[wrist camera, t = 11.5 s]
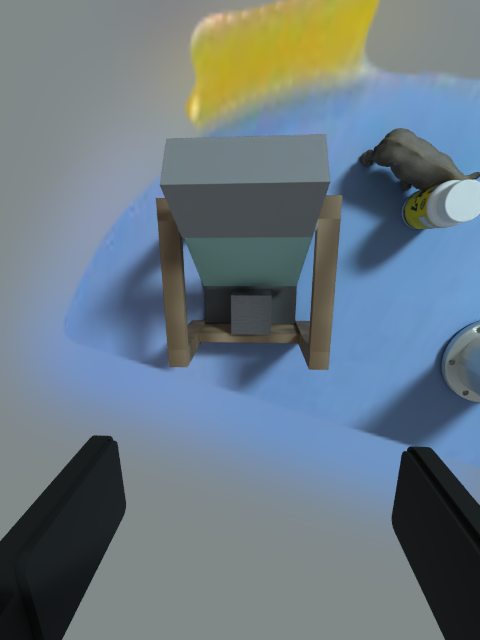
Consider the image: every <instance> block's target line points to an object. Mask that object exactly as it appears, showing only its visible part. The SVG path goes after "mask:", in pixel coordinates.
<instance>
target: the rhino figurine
mask: <svg viewBox="0 0 480 640" xmlns="http://www.w3.org/2000/svg"><path fill="white" fill-rule="evenodd" d="M372 161H375V162H376V163H377V164H378V165H380V166H385V167H389V166H390V167H391V170H392V172H393V174H394V175H395V176H396V177H397V178H398V179H400V180H402V182H401V188H402V189H407V190H408V189H410V188H411V185H412V186H413V187H415V188H416V189H420V190H427V189H429V188H431V187H433V186H435V185H438V184H441V183H444V182H447V181H451V180H460V181H463V180H473V179H477V178H479V177H480V173H479V172H475V173H473V174H471V175H466V176H465V175H464V174H463V173H461V172H460V171H459V170H458V168H457V167H456V165H455V164H454V163H453V161H452V159H451V158H450V157H449V156H448V155H446V154H444V153H442V152H439V151H438V150H437V149H436V148H435V147H434V146H433V145H432V144H430V143H429V142H427V141H426V140H424V139H422V138H419V137H417V136H416V135H415V134H414V133H413V132H412V131H410V130H408V129H401V128H399V129H394V130H392V131H391V132H390V133H388V134H387V135H386V136H385V138H384V139H383V140H382V141H381V142H380V143H379V145H377V146H376V147H375V148H374V151H373V150H368V151H367V152H365V153H363V154H362V156H361V162H362V164H363V165H367V166H370V165H371V164H372Z"/></svg>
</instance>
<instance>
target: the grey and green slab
mask: <svg viewBox="0 0 480 640" xmlns="http://www.w3.org/2000/svg"><path fill="white" fill-rule="evenodd" d="M329 184H330V173H329V162H328V151H327V140H326V134H316V135H281V136H245V137H210V138H178V139H177V138H175V139H166V144H165V151H164V158H163V165H162V172H161V180H160V187H161V189H162V191H163V194H164V196H165V198H166V201H167V203H168V206H169V208H170V210H171V213H172V215H173V217H174V220H175V222H176V225H177V227H178V231H179V232H180V234H181V236H182V238H184V239H185V241H186V244H187V246H188V249H189V251H190V254H191V256H192V259H193V261H194V263H195V266H196V268H197V271H198V273H199V276H200V278H201V280H202V283H203V285H204V286H297V283H298V280H299V276H300V273H301V270H302V267H303V264H304V261H305V258H306V255H307V252H308V249H309V246H310V243H311V240H312V236H313V233H314V231H317V229H318V218H319V215H320V212H321V209H322V205H323V202H324V199H325V196H326V193H327V190H328V187H329Z"/></svg>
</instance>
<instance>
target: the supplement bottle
mask: <svg viewBox="0 0 480 640" xmlns="http://www.w3.org/2000/svg"><path fill="white" fill-rule="evenodd" d="M479 214H480V182H478V181H476V180H463V181H460V180H451V181H447V182H444V183H441V184H438V185H435V186H433V187H431V188H429V189H427V190H419V191H417V192H415V193H413V194H412V195H410V196H409V197H408V199H407V200H406V201H405V203H404V205H403V208H402V217H403V220H404V222H405V224H406V225H407V226H409V227H410V228H413V229H432V228H446V227H452V226H455V225H457V224H459V223H461V222H466V221H469V220H472V219H473V218H475V217H476V216H478V215H479Z"/></svg>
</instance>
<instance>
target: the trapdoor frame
mask: <svg viewBox="0 0 480 640" xmlns="http://www.w3.org/2000/svg"><path fill="white" fill-rule="evenodd" d="M156 205H157V218H158V231H159V244H160V256H161V269H162V282H163V295H164V308H165V320H166V333H167V346H168V359H169V367H188V365H189V363H190V362H191V360H192V358H193V356H194V354H195V353H196V351H197V349H198V347H199V345H200V344H201V342H240V343H298V344H299V346H300V349H301V351H302V354H303V356H304V358H305V361H306V363H307V366H308V368H309V369H311V370H328V367H329V355H330V343H331V330H332V318H333V306H334V294H335V281H336V269H337V257H338V244H339V232H340V220H341V207H342V195H326V196H325V199H324V202H323V205H322V209H321V212H320V215H319V218H318V229H317V231H315V248H314V264H313V281H312V298H311V314H310V322H309V321H295V310H296V288H297V286H204V288H205V313H206V320H192V321H191V322H190V324H189V325H188V326H187V312H186V295H185V277H184V260H183V243H182V236H181V234H180V232H179V231H178V227H177V225H176V222H175V220H174V217H173V215H172V213H171V210H170V208H169V206H168V203H167V201H166V198H156ZM234 289H270V291H271V295H272V307H271V335H252V334H231V294H232V292H233V290H234Z"/></svg>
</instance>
